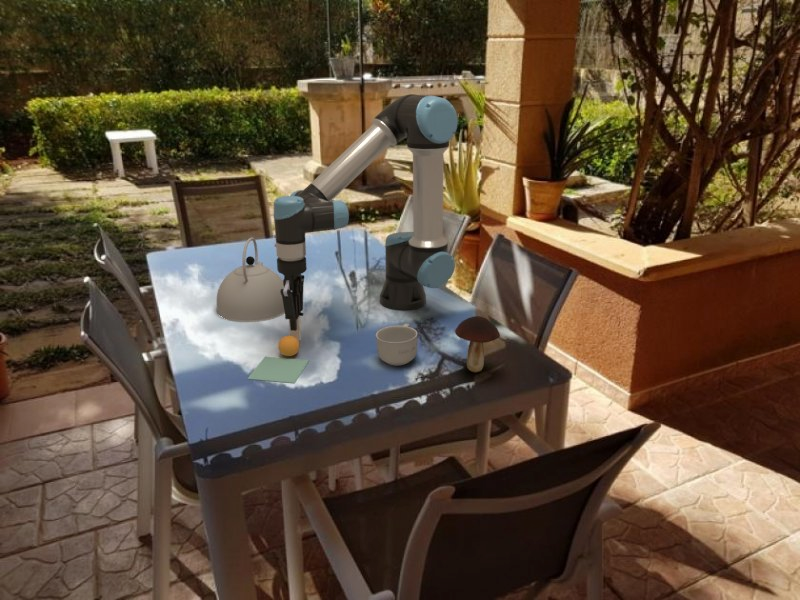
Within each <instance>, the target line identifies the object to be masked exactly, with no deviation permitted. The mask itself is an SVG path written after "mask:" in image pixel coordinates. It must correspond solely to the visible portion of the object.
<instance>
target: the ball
mask: <svg viewBox="0 0 800 600" xmlns="http://www.w3.org/2000/svg"><path fill="white" fill-rule="evenodd" d="M277 346H278V352H279V353H281V355H283V356H285V357H292V356H294V355H296V354H297V353H298V352H299V350H300V341H298V340H297V339H296V338H295V337H293V336H290V335H285V336H283V337H281V339H279V340H278V345H277Z"/></svg>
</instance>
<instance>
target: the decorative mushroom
mask: <svg viewBox="0 0 800 600" xmlns="http://www.w3.org/2000/svg"><path fill="white" fill-rule="evenodd" d="M454 333H455V334H456V336H457V337H458V338H460V339H462V340H465V341H468V342H469V345H468V348H467V357H466V367H467V369H468V370H469V372H472V373H479V372H482V369H483V368H484V364H485V363H484V362H485V349H484V343H490V342H492V341H495V340H497V339H499V338H500V336H501V333H500V331H499V330H498V328H497V327H496V325H495V324H494V323H493V322H491V321H490V320H489V319H488V318H486V317H485V316H484V317H483V316H479V315H478V316H477V315H475V316H470V317H468V318H465V319H464V320H462V321H461V322H460V323H459V324H458V325H457V327H456V329H455V330H454Z"/></svg>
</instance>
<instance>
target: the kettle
mask: <svg viewBox="0 0 800 600" xmlns="http://www.w3.org/2000/svg"><path fill="white" fill-rule="evenodd" d="M251 241H252V242H253V246H254V257H253V256H248V257H246V256H247V255H246V254H247V249H248V246H249V243H250V242H251ZM258 256H259V255H258V245H257V241H256V239H255V238H254V237H252V236H251V237H250V238H248V239H247V240H246V241H245V243H244V246H243V252H242V266H239V267H237V268H235V269H234V270H232V271H230V272H229V273H227V275H226V276H225V278H224V279H223V280H222V281H221V283H220V284H219V287H218V288H217V289H218V290H217V293H216V313H217V312H218V313H217V315H218V314H219V315H220V316H222V317H223V318H222V317H221V318H222V319H224V318H225V319H224V320H226V319H227V321H229V322H236V323H238V322H239V323H256V322H257V323H258V322H264V321H269V320H273V319H277V318H279V317H282V316H283V315H285V311H284V305H283V299H282V295H281V293H280V291H281V289H284V285H283V280H284V279H282V277H281V276H280V275H279V274H278V273H277V272H275V271H274V270H272V269H271V268H269V267H267V266H265V265H264V263H263V262H261V261H259V260H258V259H259V257H258ZM219 315H218V316H219ZM220 316H219V317H220Z"/></svg>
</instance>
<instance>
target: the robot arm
mask: <svg viewBox="0 0 800 600" xmlns="http://www.w3.org/2000/svg"><path fill="white" fill-rule="evenodd" d="M457 129H458V114H457V111H456V109H455V107H454V105H453V104H452V103H451V102H450V101H449V100H448V99H446V98H443V97H439V96H437V95H425V94H423V95H422V94H411V93H410V94H405V95H402V96H400V97H399V98H397V99H395V100H393V101H392V102H391V103H390V104H388V105H387V106H386V107H385V108H384V109H383V110H381V111H380V112H379V113H378V114H377V115H376V116H375V117H374V118H372V120H371V126H370V127H369V128H368V129H367V130H365V132H363V133H362V134H361V135H360V136H359V137H358V138H357V139H356V140H355V141H354V142H352V144H351V145H350V146H349V147H347V149H345V150H344V151H343V152H342V153H341V154H340V155H339V156H338V157H337V158H336V159H335V160H334V161H333V162H331V164H329V166H327V167H326V168H325V169H324V170H323V172H321V173H320V174H319V175H318V176H317V177H316V178H315V179H314V180H312V181H311V183H310V184H308V185H307V186H305V188H304V189H302V190H301V189H300V190H296V191H293V192H292V193H291V194H290V195H282V196H278V197H276V198H275V199H274V202H273V222H274V232H275V233H274V235H275V243H274V245H273V247H275V249H276V250H275V251H276V257H277V258H276V265H277V266H276V267H277V268H276V269H277V272H278V273H279V274H282V275H283V276H284V277H283V279H282V280H283V285H284V289H281V291H280V293H281V295H282V299H283V305H284V311H285V314H284V316H285V318H284V319H285V320H288V324H289V325H288V326H289V327H288V329H289V336H293V337H295V338H296V339H297V340H298V342H300V341H301V339H302V328H301V327H302V326H301V323H302V322H301V317H303V316H304V314H305V313H304V312H303V309H304V283H305V277H306V276H305V275H304V274H303V273H305V272H306V271H307V257H306V256H307V248H306V247H307V246H306V234H309V233H316V232H317V233H318V232H326V231H335V230H339V229H344V228H346V226H348V224H349V221H350V218H349V217H350V212H349V208H348V205H347V204H346V203H345V201H343V200H342V199H335V198H336V197H337V196H338V195H339V194H341V192H342V191H344V190H345V189H346V188H347V187H348V186H349V185H350V184H351V183H352V182H353V181H354V180H355V179H357V177H358V176H359V175H360V174H361V173H362V172H363V171H364V170H366V169H367V168H368V166H370V165H371V164H372V163H373V162H374V161H375V160H376V159H377V158H378V157H379V156H380V155H381V154H382V153H383V152H384V151H386V149H388V148H389V147H395V146H396V145H397V144H398V143H400V142H401V141H403V140H405V139H406V144H407V145H406V147H407V149H408V150H409V151H410V152H411V154H412V181H413V182H412V197H413V198H412V200H413V201H412V204H413V207H412V208H413V209H412V210H413V211H412V212H413V213H412V215H413V216H412V217H413V218H412V219H413V221H412V222H413V231H402V232H393V233H390V234H389V235H387V236H386V238H385V244H384V245H385V246H384V247H385V276H384V277H385V280H384V282H383V285H382V289H381V291H380V293H379V294H380V295H379V303H380V305H382V306H383V307H386V308H387V309H391V308H392V310H397V309H399V310H398V311H410V310H416V309H419V308H421V307H423V305H424V304H425V305H426V303H427V294H426V291H425V288H424V287H427V288H430V289H438V288H441V287H443V286H444V285H446V283H448V281H449V280H450V279H451V278H452V277H453V275H454V272H455V268H456V262H455V261H456V260H455V259H454V257H453V255H452V254H451V253H450V252H448V250H449V249H448V247H449V246H448V245H449V241H448V240H447V238H446V237H445V236H444V235H443V233H444V232H443V231H444V223H443V222H444V153H445V152H446V151H447V150H448V149H449V148H450V140H451V139H452V138H453V137H454V135H455V134H456V132H457ZM425 305H424V306H425Z"/></svg>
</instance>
